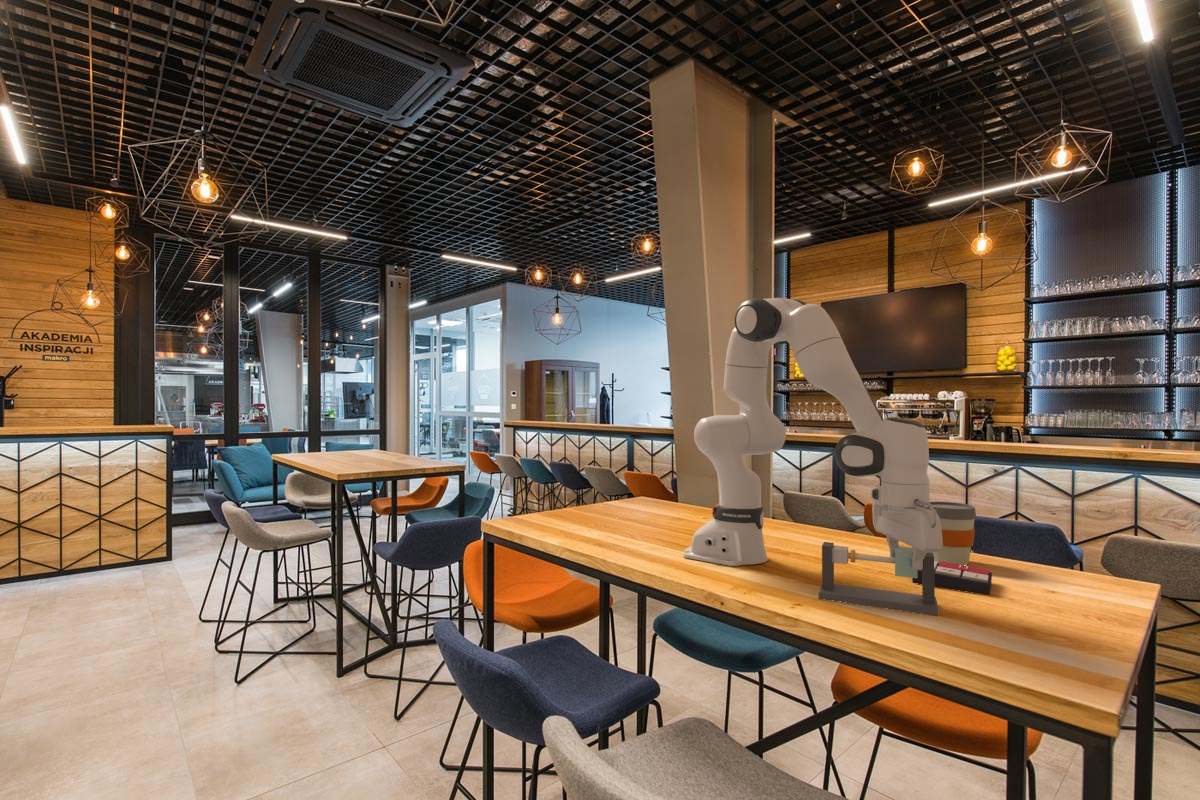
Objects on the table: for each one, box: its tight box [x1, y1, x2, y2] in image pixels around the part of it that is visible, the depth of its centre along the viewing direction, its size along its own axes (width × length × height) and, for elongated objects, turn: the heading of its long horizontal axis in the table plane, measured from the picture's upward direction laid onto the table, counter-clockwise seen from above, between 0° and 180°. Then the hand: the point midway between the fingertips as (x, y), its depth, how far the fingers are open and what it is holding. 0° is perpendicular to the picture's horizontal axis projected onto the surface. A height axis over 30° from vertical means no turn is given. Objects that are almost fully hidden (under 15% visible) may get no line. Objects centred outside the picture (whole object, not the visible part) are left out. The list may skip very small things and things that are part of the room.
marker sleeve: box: [894, 545, 917, 579], centre depth 118 cm, size 4×5×5 cm
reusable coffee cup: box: [930, 501, 977, 565], centre depth 152 cm, size 13×13×15 cm
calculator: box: [911, 561, 993, 596], centre depth 133 cm, size 11×4×15 cm
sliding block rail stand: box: [818, 541, 939, 617], centre depth 120 cm, size 22×8×11 cm, turn 63°
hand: (905, 563), depth 118 cm, fingers closed on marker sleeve, 6 cm apart
